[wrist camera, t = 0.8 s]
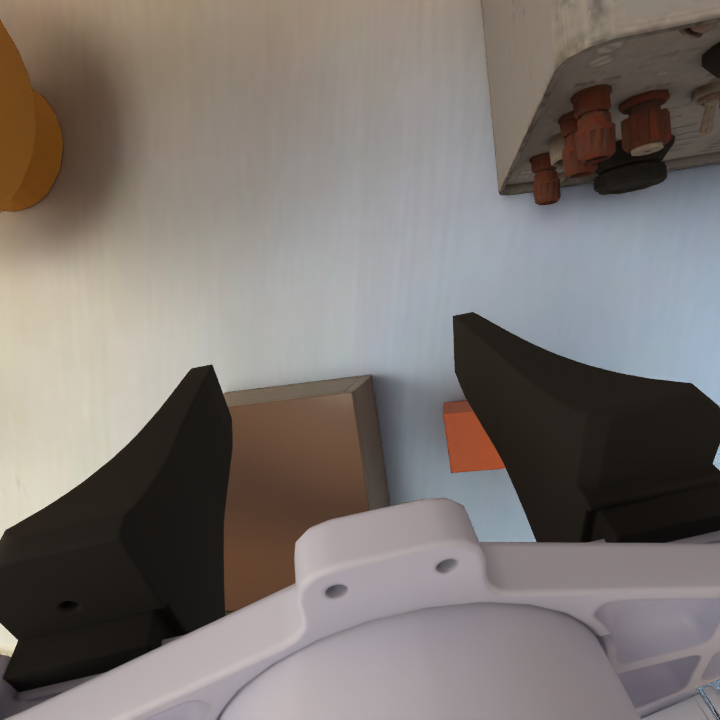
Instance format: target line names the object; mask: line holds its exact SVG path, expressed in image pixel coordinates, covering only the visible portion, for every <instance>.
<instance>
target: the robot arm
mask: <svg viewBox="0 0 720 720" xmlns="http://www.w3.org/2000/svg"><path fill="white" fill-rule="evenodd" d="M453 332H454V361H455V373H456V376H457V378H458V381H459V383H460V386H461V388H462V391H463V393H464V395H465V398H466V399H467V401H468V403H469V405H470V406H471V408H472V410H473V412H474V413H475V415H476V417H477V418H478V420H479V422H480V423H481V425H482V427H483V428H484V430H485V432H486V433H487V435H488V437H489V438H490V440H491V442H492V444H493V445H494V447H495V449H496V450H497V452H498V454H499V456H500V458H501V460H502V461H503V463H504V465H505V468H506V470H507V472H508V474H509V477H510V479H511V481H512V483H513V486H514V488H515V490H516V492H517V495H518V497H519V500H520V502H521V504H522V507H523V509H524V511H525V514H526V516H527V519H528V521H529V524H530V526H531V529H532V531H533V534H534V536H535V539H536V541H537V542H479V540H478V538H477V536H476V533H475V531H474V528H473V526H472V524H471V521H470V519H469V517H468V514H467V512H466V510H465V508H464V506H463V505H461V504H459V503H457V502H455V501H452V500H450V499H448V498H428V499H421V500H416V501H411V502H407V503H402V504H398V505H393V506H389V507H384V508H380V509H375V510H371V511H366V512H361V513H357V514H352V515H348V516H343V517H339V518H334V519H330V520H327V521H325V522H322V523H320V524H318V525H315V526H313V527H311V528H309V529H308V530H307V531H306V532H305V533H304V534H303V535H302V536H301V537H300V538H299V539H298V540H297V542H296V543H295V554H294V562H295V580H296V583H294V584H292V585H290V586H288V587H286V588H284V589H282V590H280V591H277V592H275V593H273V594H271V595H269V596H267V597H265V598H263V599H260V600H258V601H256V602H254V603H252V604H250V605H248V606H246V607H243V608H241V609H239V610H237V611H235V612H233V613H231V614H229V615H227V616H225V593H224V518H225V507H226V499H227V491H228V483H229V475H230V466H231V458H232V449H233V433H232V417H231V414H230V411H229V408H228V406H227V403H226V400H225V398H224V395H223V392H222V390H221V387H220V384H219V382H218V379H217V376H216V373H215V371H214V368H213V365H207V366H202V367H197V368H192V369H191V370H190V371H189V372H188V373H187V375H186V376H185V377H184V378H183V380H182V381H181V382H180V384H179V385H178V386H177V388H176V389H175V390H174V392H173V393H172V394H171V395H170V397H169V398H168V399H167V401H166V402H165V403H164V404H163V406H162V407H161V408H160V409H159V411H158V412H157V413H156V414H155V415H154V416H153V417H152V419H151V420H150V421H149V422H148V423H147V424H146V425H145V427H144V428H143V429H142V430H141V431H140V432H139V433H138V434H137V435H136V436H135V437H134V438H133V439H132V440H131V441H130V442H129V443H128V444H127V445H126V446H125V447H124V448H123V449H122V450H121V451H120V452H119V453H118V454H117V455H116V456H115V457H113V458H112V459H111V460H110V461H109V462H108V463H106V464H105V465H104V466H103V467H101V468H100V469H99V470H98V471H96V472H95V473H94V474H93V475H91V476H90V477H89V478H88V479H86V480H85V481H84V482H82V483H81V484H80V485H78V486H77V487H75V488H74V489H73V490H71V491H70V492H68V493H67V494H65V495H64V496H62V497H61V498H59V499H58V500H56V501H55V502H53V503H52V504H50V505H48V506H47V507H45V508H44V509H42V510H40V511H38V512H37V513H35V514H33V515H32V516H30V517H28V518H26V519H25V520H23V521H21V522H19V523H18V524H16V525H14V526H12V527H11V528H9V529H7V530H6V531H5V532H4V534H3V536H2V538H1V540H0V623H1V624H2V625H3V626H4V627H5V628H6V629H7V630H8V631H9V632H10V633H11V634H12V635H13V636H14V637H15V638H17V639H18V642H17V645H16V647H15V650H14V652H13V655H12V657H9V656H5V655H0V720H718V719H717V718H716V716H715V715H714V713H713V711H712V710H711V708H710V707H709V705H708V704H707V702H706V701H705V699H704V698H703V696H702V695H701V693H700V692H699V690H698V689H697V688H698V687H701V686H703V685H706V684H708V683H711V682H714V681H716V680H719V679H720V471H719V470H718V469H717V468H716V467H715V466H714V465H713V464H712V463H713V461H714V458H715V455H716V453H717V450H718V447H719V444H720V407H719V406H718V405H717V404H716V403H715V402H713V401H712V400H711V399H710V398H709V397H707V396H706V395H705V394H704V393H703V392H701V391H700V390H699V389H698V388H697V387H695V386H694V385H693V384H691V383H684V382H674V381H665V380H656V379H649V378H643V377H637V376H632V375H626V374H621V373H617V372H612V371H608V370H604V369H601V368H597V367H593V366H589V365H586V364H583V363H579V362H576V361H574V360H571V359H568V358H565V357H562V356H559V355H557V354H554V353H552V352H549V351H547V350H545V349H543V348H540V347H538V346H536V345H534V344H532V343H530V342H528V341H525V340H523V339H521V338H520V337H518V336H516V335H514V334H512V333H510V332H508V331H506V330H505V329H503V328H501V327H499V326H497V325H496V324H494V323H492V322H490V321H489V320H487V319H485V318H483V317H481V316H479V315H478V314H476V313H474V312H471V313H466V314H461V315H456V316H453ZM702 690H703V692H704V694H705V695H706V697H707V698H708V700H709V701H710V703H711V704H712V706H713V708H714V711H715V713H716V714H717V716H718V717H719V719H720V690H716V689H715V688H714V687H713V686H707V687H706V688H704V689H702Z"/></svg>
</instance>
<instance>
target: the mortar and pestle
mask: <svg viewBox="0 0 720 720" xmlns="http://www.w3.org/2000/svg"><path fill="white" fill-rule="evenodd" d="M62 151H63V139H62V134H61V128H60V125H59V122H58V120H57V117H56V115H55V112H54V111H53V110H52V108H51V107H50V105H49V104H48V103H47V101H46V100H45V98H43V97H42V96H41V95H40V94H39V93H37V92H36V91H35V90H33V89H32V88H31V84H30V80H29V75H28V73H27V70H26V68H25V66H24V63H23V61H22V58H21V56H20V53H19V51H18V49H17V47H16V45H15V44H14V42H13V40H12V38H11V37H10V35H9V33H8V32H7V30H6V28H5V27H4V25H3V23H2V22H1V20H0V212H1V211H18V210H22V209H26V208H29V207H30V206H32V205H34V204H36V203H38V202H39V201H40V200H41V199H42V198H43V197H44V196H45V195H46V194H48V192H49V190H50V188H51V187H52V185H53V183H54V181H55V179H56V177H57V175H58V174H59V172H60V166H61V158H62Z"/></svg>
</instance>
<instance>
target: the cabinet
mask: <svg viewBox="0 0 720 720" xmlns="http://www.w3.org/2000/svg"><path fill="white" fill-rule="evenodd" d="M223 395H224V398H225V400H226V403H227V406H228V408H229V411H230V414H231V417H232V433H233V449H232V458H231V466H230V475H229V483H228V491H227V499H226V507H225V518H224V593H225V611H236V610H239V609H241V608H243V607H246V606H248V605H250V604H252V603H254V602H256V601H258V600H260V599H263V598H265V597H267V596H269V595H271V594H273V593H275V592H277V591H280V590H282V589H284V588H286V587H288V586H290V585H292V584H294V583H296V580H295V562H294V554H295V543H296V542H297V540H298V539H299V538H300V537H301V536H302V535H303V534H304V533H305V532H306V531H307V530H308V529H309V528H311V527H313V526H315V525H318V524H320V523H322V522H325V521H327V520H330V519H334V518H339V517H343V516H348V515H352V514H357V513H361V512H366V511H371V510H375V509H380V508H384V507H389V506H391V504H390V497H389V490H388V483H387V476H386V469H385V462H384V455H383V448H382V441H381V434H380V427H379V420H378V413H377V406H376V399H375V392H374V385H373V378H372V375H363V376H355V377H347V378H339V379H331V380H323V381H315V382H307V383H299V384H291V385H283V386H275V387H266V388H258V389H250V390H242V391H234V392H226V393H223Z"/></svg>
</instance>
